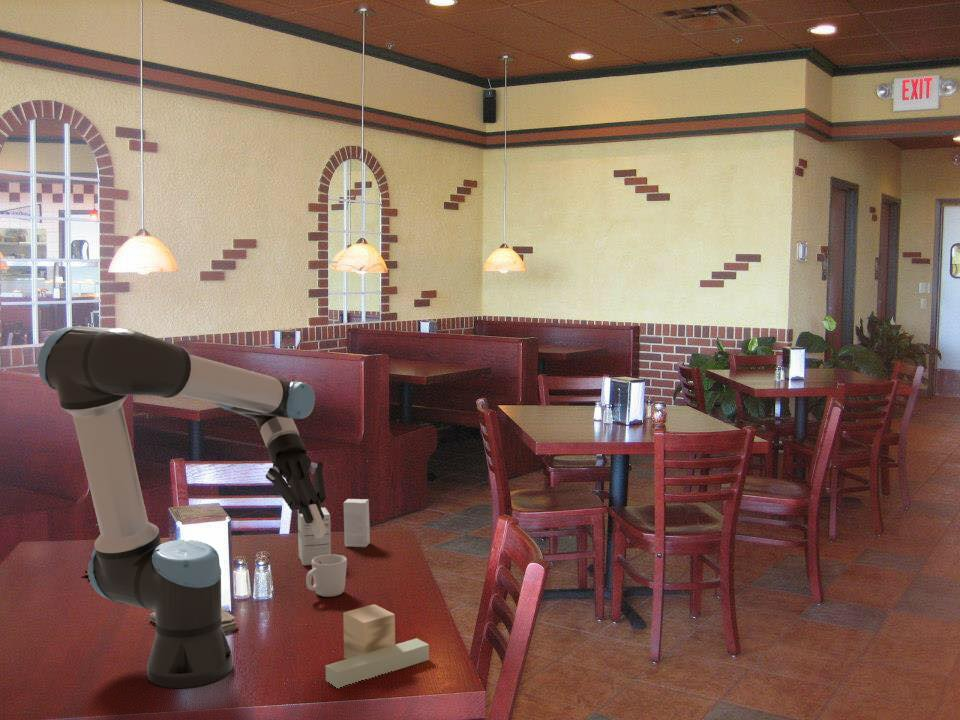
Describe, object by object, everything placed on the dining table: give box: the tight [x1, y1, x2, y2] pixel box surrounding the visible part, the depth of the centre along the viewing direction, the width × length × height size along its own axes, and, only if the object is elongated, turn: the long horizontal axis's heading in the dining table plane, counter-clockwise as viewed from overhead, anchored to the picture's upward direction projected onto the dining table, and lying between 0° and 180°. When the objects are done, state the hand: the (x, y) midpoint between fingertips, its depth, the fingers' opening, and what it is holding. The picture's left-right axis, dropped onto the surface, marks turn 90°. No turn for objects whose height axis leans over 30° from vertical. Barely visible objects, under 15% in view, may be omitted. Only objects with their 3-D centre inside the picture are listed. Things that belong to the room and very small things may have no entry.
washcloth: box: [148, 607, 239, 634], centre depth 205 cm, size 12×18×3 cm, turn 46°
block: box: [342, 604, 396, 659], centre depth 187 cm, size 7×7×9 cm
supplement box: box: [297, 507, 332, 566], centre depth 247 cm, size 7×7×13 cm
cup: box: [305, 553, 348, 598], centre depth 222 cm, size 11×8×8 cm
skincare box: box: [342, 498, 371, 548], centre depth 261 cm, size 6×4×12 cm
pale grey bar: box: [325, 637, 430, 689], centre depth 182 cm, size 20×4×3 cm, turn 129°
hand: (321, 534), depth 200 cm, fingers closed
